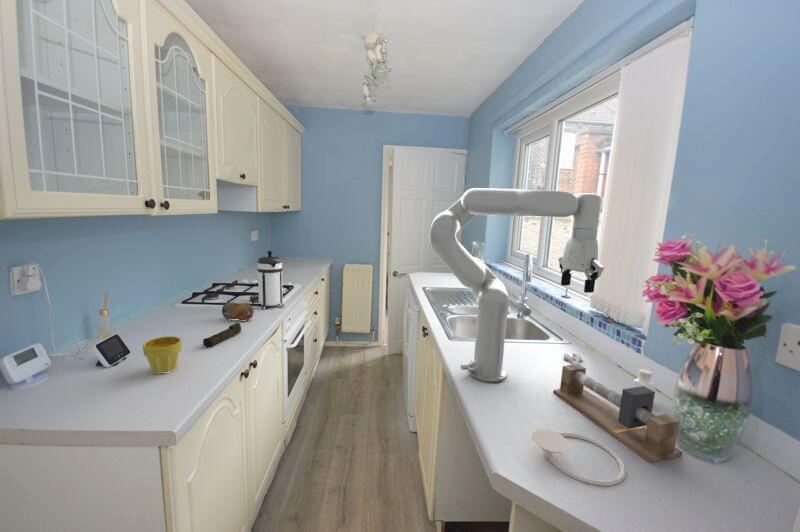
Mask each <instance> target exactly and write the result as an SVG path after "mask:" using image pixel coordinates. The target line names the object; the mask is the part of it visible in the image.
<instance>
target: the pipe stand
mask: <svg viewBox="0 0 800 532" xmlns="http://www.w3.org/2000/svg"><path fill="white" fill-rule="evenodd" d="M579 364H580V363H579ZM579 364H575V365H572V364H567V365H562V370H561V378H560V386H559V388H556V389H553V392H552V393H553V394H554V395H555V396H557V397H558V398H560V399H561V400H562V401H564V402H565V403H566V404H568V405H569V406H570V407H572V408H573V409H575V410H576V411H577V412H579V413H580V414H582V415H583V416H585V417H586V418H587V419H589V421H592V422H593V423H594V424H595V425H597V426H598V427H600V428H601V429H602V430H604V431H605V432H606V433H608V434H609V435H610V436H612V437H613V438H615V439H616V440H618V441H619V442H620V443H621V444H623V445H625V446H626V447H627V448H628V449H630V450H631V451H633V452H634V453H635V454H637V455H638V456H640V457H641V458H642V459H643V460H645V461H646V462H648V463H649V464H652V463H656V462H661V461H665V460H669V459H674V458H677V457H678V458H679V457H681V456H682V455H683V451H681V450H680V449H679V448H677V447H676V443H677V439H678V433H679V428H680V427H679V426H680V420H679V419H678V418H675V417H673V415H672V416H671V415H670V414H667V413H666V414H665V413H664V414H659V415H656V414H654V413H653V412H652V413H650V412H649V411H647V410H645V409H644V408H642V407H637V408H636V412H635V418H637V419H639V420H640V421H642V422H643V423H645V424H647V425H646V427H645V426H641V427H635V428H630V429H628V428H626V427H625V426H623V425H622V424H620V423H619V422H618V418H619V411H620V410H617V409H616V408H614V407H612V406H611V405H609V404H608V403H606V402H605V401H603V400H601V399H600V398H598V397H597V396H595V395H594V394H592V393H591V392H589V391H588V390H586V389H584V387H586V388H587V389H589V390H591V391H592V392H593V393H596V394H597V395H598V396H600V397H602V398H604V399H605V400H607V402H609V403H612V404H613V405H615V406H616V407H618V408H619V409H620V405H621V398H622V394H620V393H618V392H616V391H615V390H612V389H611V388H610V387H608V386H606V385H605V384H602V383H601V382H599V381H597V380H596V379H594V378H593V377H591V376H589V375H587V374H586V370H587V368H586V367H584V366H582V365H581V364H580V365H579Z"/></svg>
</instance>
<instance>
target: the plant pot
mask: <svg viewBox="0 0 800 532" xmlns="http://www.w3.org/2000/svg"><path fill="white" fill-rule="evenodd" d="M182 342H183V341H182V338H180V337H179V336H174V335H170V336H169V335H168V336H166V335H165V336H160V337H154V338H151V339H149V340H147V341H145V342H144V343H143V345H142V350H143V356H145V358H147V362H148V364H149V367H150V370H151V372H155V373H163V372H168V371H171V370H173V369H175V368H176V369H177V366H178V361H179V356H180V351H182V348H183V345H182ZM176 369H175V370H176Z"/></svg>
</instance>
